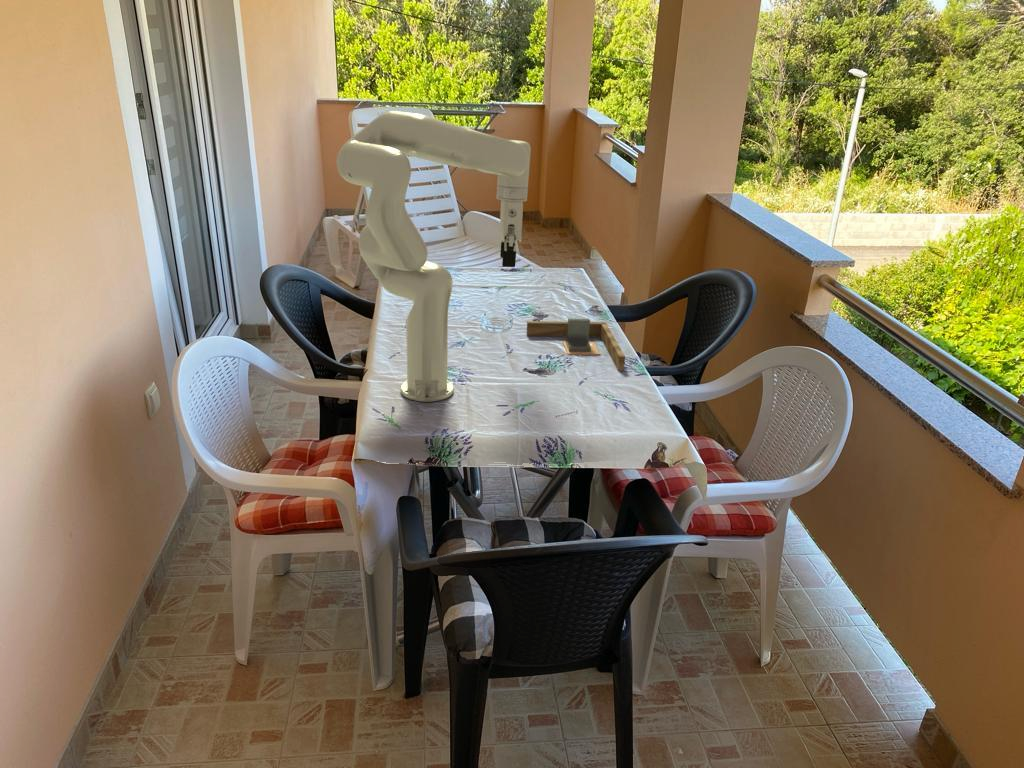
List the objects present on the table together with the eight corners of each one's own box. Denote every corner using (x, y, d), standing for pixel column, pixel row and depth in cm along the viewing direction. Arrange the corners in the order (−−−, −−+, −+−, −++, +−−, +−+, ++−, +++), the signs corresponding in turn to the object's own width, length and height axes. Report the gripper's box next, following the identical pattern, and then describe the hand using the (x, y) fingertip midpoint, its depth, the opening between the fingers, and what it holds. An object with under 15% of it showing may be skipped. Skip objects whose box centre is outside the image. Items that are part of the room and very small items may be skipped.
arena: (623, 370, 194) (625, 356, 192) (536, 370, 192) (537, 355, 190) (604, 335, 218) (605, 322, 216) (526, 334, 216) (527, 321, 214)
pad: (599, 355, 203) (600, 353, 203) (567, 354, 202) (567, 353, 202) (594, 343, 211) (594, 341, 211) (562, 342, 211) (562, 341, 210)
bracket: (586, 343, 210) (589, 318, 206) (590, 351, 204) (592, 326, 201) (565, 343, 209) (567, 318, 206) (568, 351, 204) (571, 326, 201)
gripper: (530, 199, 174) (524, 271, 181) (524, 189, 190) (519, 255, 197) (498, 198, 173) (494, 269, 180) (495, 187, 189) (491, 253, 196)
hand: (507, 262), depth 188 cm, fingers open, 9 cm apart
